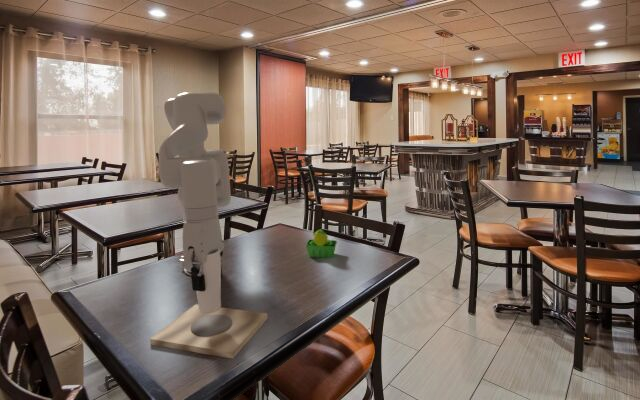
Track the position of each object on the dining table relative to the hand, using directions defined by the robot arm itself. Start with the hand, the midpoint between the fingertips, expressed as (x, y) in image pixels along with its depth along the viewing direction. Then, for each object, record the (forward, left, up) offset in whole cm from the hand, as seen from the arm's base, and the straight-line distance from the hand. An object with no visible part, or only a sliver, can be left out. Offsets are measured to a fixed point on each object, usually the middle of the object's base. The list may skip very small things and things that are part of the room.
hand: (207, 283), depth 92 cm
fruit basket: (+11, +59, -13) cm, 61 cm away
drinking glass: (0, 0, -7) cm, 7 cm away
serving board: (0, 0, -13) cm, 13 cm away
